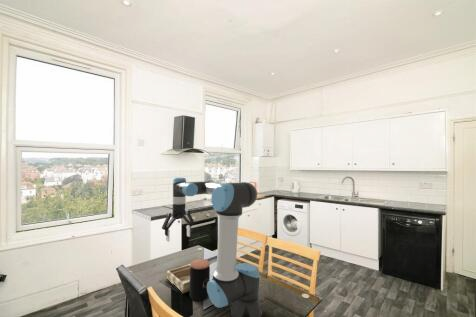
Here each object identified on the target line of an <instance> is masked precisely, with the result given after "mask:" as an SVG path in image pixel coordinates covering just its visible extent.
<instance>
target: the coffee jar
mask: <svg viewBox="0 0 476 317" xmlns="http://www.w3.org/2000/svg"><path fill="white" fill-rule="evenodd" d="M189 264H190V266H191V268H190V291H189V297H190V299H191V300H192V301H194V302H202V301H205V300H207V298H209V296H208V292H207V283H208V282H209V281H210V280H211V279H210V274H211V273H210V272H211V269H210V268H211V267H210V265H211V262H210V261H209V260H207V259H203V258H200V259H194V260H192V261H191V262H190V263H189Z"/></svg>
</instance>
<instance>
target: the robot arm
mask: <svg viewBox="0 0 476 317" xmlns="http://www.w3.org/2000/svg"><path fill="white" fill-rule="evenodd" d="M197 195H198V196H199V195H209V196H211V198H210V199H211V201H210V202H211V204H212V205H211V206H212V208H213V210H214V211H215V212H216V215H217V216H218V217H219V218H218V236H217V237H218V238H217V239H218V240H217V255H216V257H217V258H216V268H215V269H213V272H212V279H210V281H209V282H208V283H207V292H208V298H209V300H210V302H211V304H213V305H214V307H216V308H218V309H219V308H220V309H221V308H223V307H227V306H229V305H230V304H231V308H230V309H231V310H230V315H231V317H261V315H262V316H263V309H262V304H261V301H260V297H259V296H260V277H261V276H260V270H259V267H257V265H256V266H255V265H253V264H251V263H247V262H245V263H242V262H240V263H237V253H238V252H237V250H238V249H237V247H238V234H239V233H238V232H239V218H240V217H241V216H243V208H248V207H251V206H252V205H254V204H255V202H256V201H257V198H258V190H257V188H256V187H255V186H254V184H252V183H249V182H246V181H245V182H243V181H242V182H216V181H213V180H208V181H207V180H205V181H187V179H186V178H185V177H174V178H173V180H172V212H169V211H168V212H167V213H166V217H165V219H164V222H163V225H162V226H161V229H162V230H164V235H165V241H166V242H170V235H171V234H170V232H171V231H170V228H171V227H172V226H173V224H174V223H175V221H176V220H181V219H183V221H184V222H185V223H186V224H187V225H186V237H189V238H190V237H191V231H192V226H193V225H194V224H195V221H194V219H193V217H192V214H191V210H190V209H186V196H187V197H194V196H197ZM186 215H187V216H186Z"/></svg>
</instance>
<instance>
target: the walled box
mask: <svg viewBox="0 0 476 317" xmlns="http://www.w3.org/2000/svg"><path fill="white" fill-rule="evenodd" d="M190 268H191V266H190V263H188V264H185V265H183V266H180V267H176V268H172V269H169V270H167V271H166V280H167V279H168V280H169V281H170V282H171V284H172V285H173V284H174V285H175V286H176V287H177V288H178V289H179V290H180V291H181V292H182V293H181V292H180V291H179V290H178V289H177V288H176V287H175V286H174V285H173V286H174V287H175V288H176V289H177V290H178V291H179V292H180V293H181V294H185V293H188V292H190ZM168 280H167V281H168ZM169 281H168V282H169ZM170 282H169V283H170Z"/></svg>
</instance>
